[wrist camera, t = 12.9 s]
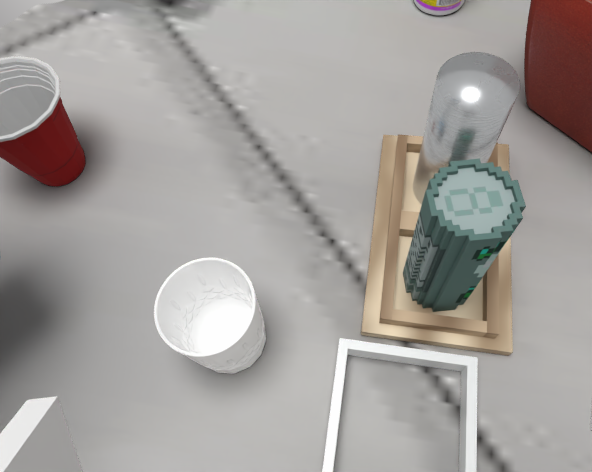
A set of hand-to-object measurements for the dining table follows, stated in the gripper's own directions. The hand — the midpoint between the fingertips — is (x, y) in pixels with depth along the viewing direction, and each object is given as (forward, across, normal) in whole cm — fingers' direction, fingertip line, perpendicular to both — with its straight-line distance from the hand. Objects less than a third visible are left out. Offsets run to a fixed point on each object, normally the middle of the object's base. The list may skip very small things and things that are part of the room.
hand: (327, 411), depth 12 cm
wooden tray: (+37, +12, -10) cm, 40 cm away
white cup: (+31, -9, -15) cm, 36 cm away
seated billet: (+39, +14, -5) cm, 42 cm away
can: (+32, +11, -12) cm, 36 cm away
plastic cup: (+47, -28, +1) cm, 55 cm away
